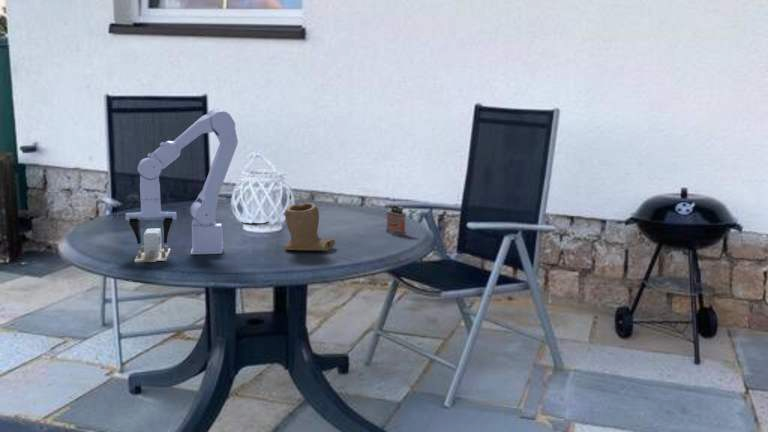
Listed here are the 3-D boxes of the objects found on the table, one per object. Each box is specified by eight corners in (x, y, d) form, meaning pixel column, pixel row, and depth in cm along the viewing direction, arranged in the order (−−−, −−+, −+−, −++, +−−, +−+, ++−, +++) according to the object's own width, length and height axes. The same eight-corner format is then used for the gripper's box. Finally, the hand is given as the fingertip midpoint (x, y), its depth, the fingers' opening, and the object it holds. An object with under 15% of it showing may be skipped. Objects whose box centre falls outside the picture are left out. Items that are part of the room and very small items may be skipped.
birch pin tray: (170, 250, 247) (170, 243, 247) (165, 261, 234) (165, 254, 233) (140, 251, 246) (140, 244, 245) (134, 262, 232) (133, 255, 232)
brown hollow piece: (279, 254, 244) (278, 206, 242) (289, 245, 256) (289, 199, 253) (327, 256, 242) (327, 208, 239) (335, 247, 254) (335, 201, 251)
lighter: (407, 234, 274) (408, 206, 272) (401, 235, 272) (401, 207, 270) (390, 230, 280) (390, 203, 278) (384, 232, 277) (384, 204, 275)
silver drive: (161, 250, 244) (160, 228, 243) (158, 256, 236) (157, 234, 235) (148, 250, 244) (147, 228, 242) (144, 257, 236) (143, 234, 234)
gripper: (176, 195, 241) (178, 239, 244) (127, 196, 239) (129, 240, 242) (174, 199, 234) (176, 244, 237) (123, 200, 232) (125, 245, 235)
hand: (152, 242), depth 239 cm, fingers open, 7 cm apart
